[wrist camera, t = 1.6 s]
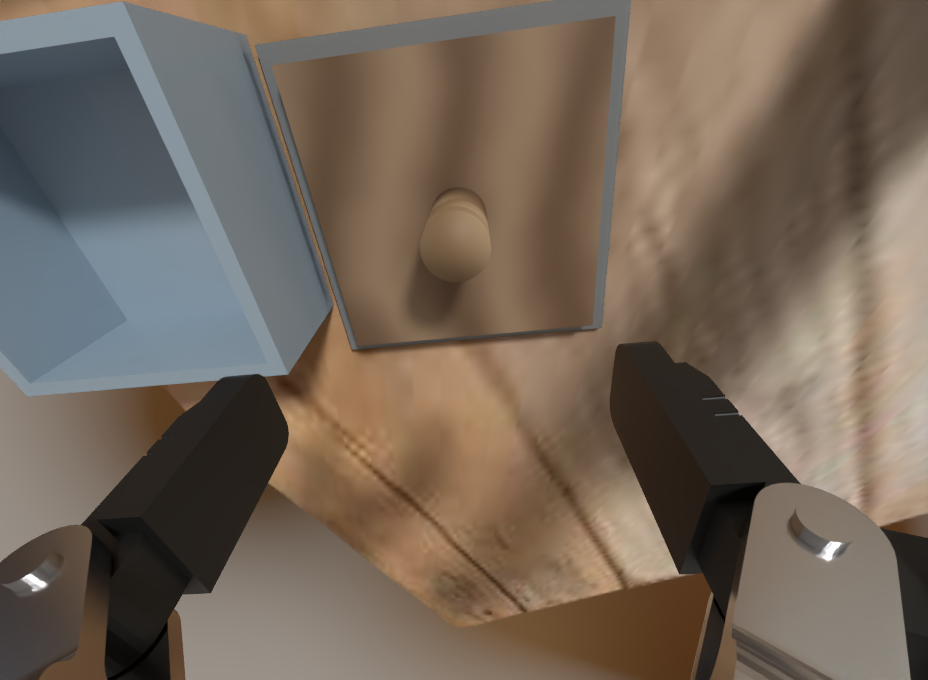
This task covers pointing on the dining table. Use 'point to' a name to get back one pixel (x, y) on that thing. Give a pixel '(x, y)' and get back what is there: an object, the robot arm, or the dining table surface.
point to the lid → (459, 178)
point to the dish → (145, 207)
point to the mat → (568, 6)
